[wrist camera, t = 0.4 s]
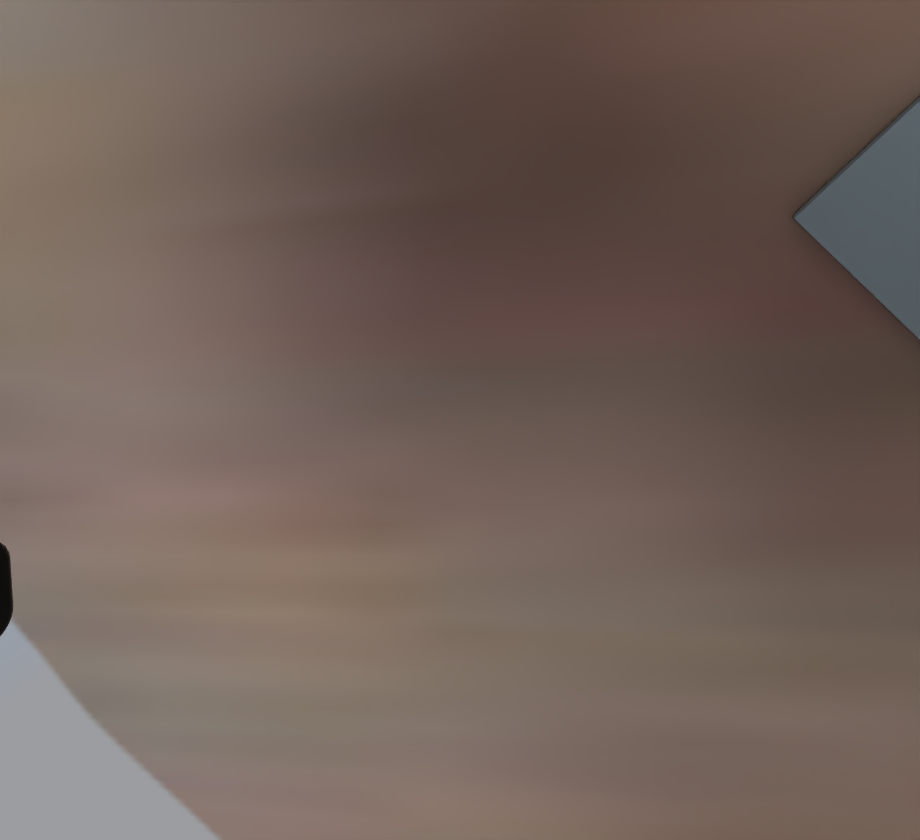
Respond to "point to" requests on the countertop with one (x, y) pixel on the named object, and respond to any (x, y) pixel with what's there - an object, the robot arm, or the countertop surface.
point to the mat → (877, 217)
